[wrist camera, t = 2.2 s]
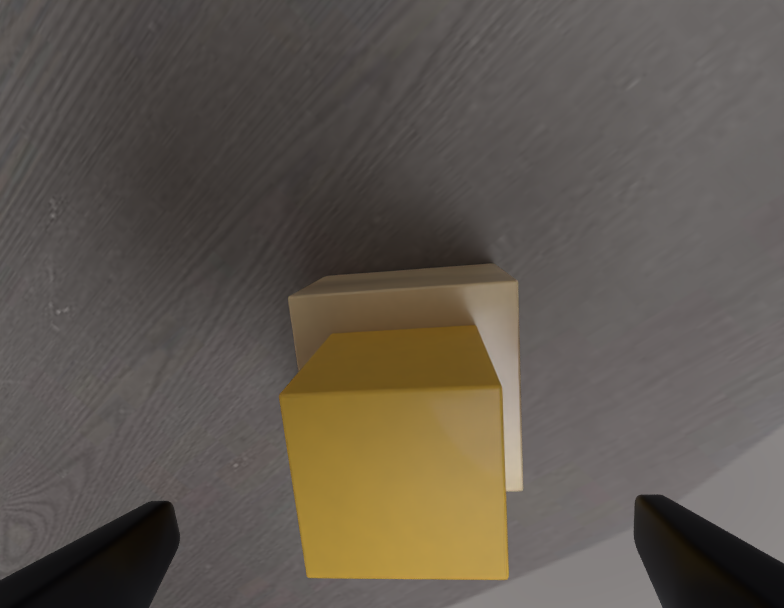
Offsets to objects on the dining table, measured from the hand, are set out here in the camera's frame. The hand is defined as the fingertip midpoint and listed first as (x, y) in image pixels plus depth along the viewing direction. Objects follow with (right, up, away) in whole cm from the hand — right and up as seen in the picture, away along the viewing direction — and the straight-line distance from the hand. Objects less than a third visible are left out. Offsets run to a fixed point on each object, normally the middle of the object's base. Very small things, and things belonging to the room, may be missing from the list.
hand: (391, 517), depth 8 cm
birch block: (+1, +2, +9) cm, 10 cm away
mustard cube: (+1, +1, +5) cm, 5 cm away
